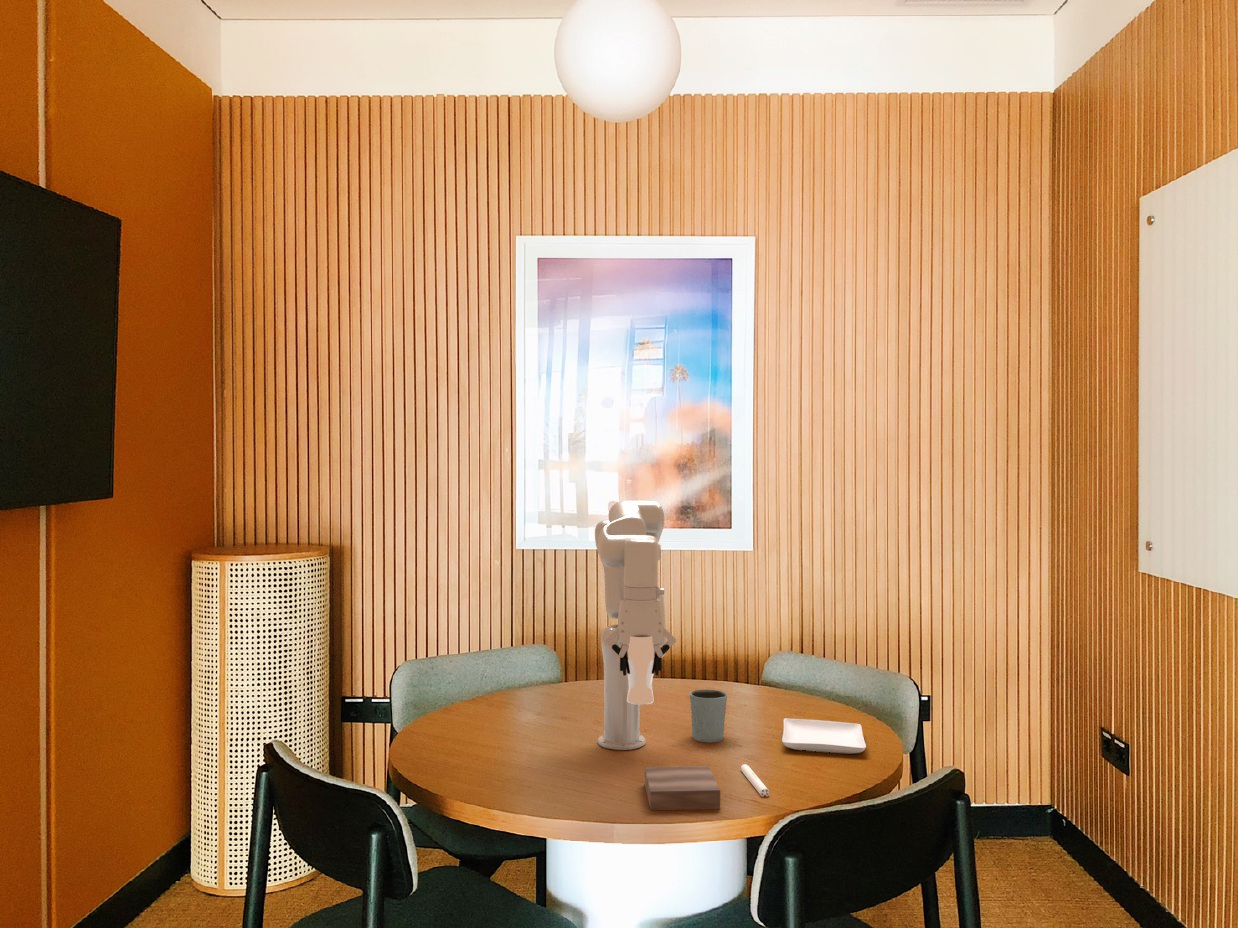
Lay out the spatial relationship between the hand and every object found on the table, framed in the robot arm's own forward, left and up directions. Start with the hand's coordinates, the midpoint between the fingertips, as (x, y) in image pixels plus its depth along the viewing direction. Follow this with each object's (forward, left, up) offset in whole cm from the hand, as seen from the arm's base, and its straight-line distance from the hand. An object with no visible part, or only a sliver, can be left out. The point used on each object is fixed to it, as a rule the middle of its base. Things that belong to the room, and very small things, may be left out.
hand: (640, 673), depth 189 cm
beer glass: (0, 0, -6) cm, 6 cm away
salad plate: (-36, +52, -28) cm, 69 cm away
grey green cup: (-42, +22, -28) cm, 55 cm away
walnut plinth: (0, +9, -27) cm, 29 cm away
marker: (-8, +27, -28) cm, 40 cm away
